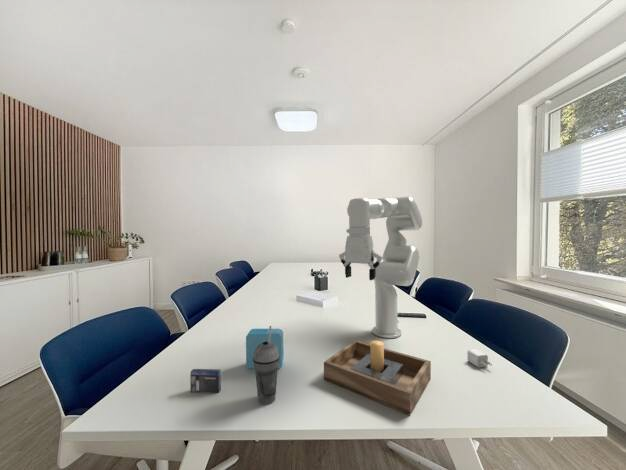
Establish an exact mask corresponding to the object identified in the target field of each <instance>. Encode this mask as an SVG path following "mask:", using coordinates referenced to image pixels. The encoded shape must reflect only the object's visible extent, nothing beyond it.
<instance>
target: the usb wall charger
mask: <svg viewBox="0 0 626 470" xmlns="http://www.w3.org/2000/svg"><path fill="white" fill-rule="evenodd" d="M467 361H468V362H470V364H472V365H474V366H475V367H477V368H486V367H488V366H491V367H492V366H493V365H492V364H493V363H492V362H489V357H488V354H485V353H484V352H482V351H480V350H478V349H477V348H474V349H473V348H472V349H468V350H467Z"/></svg>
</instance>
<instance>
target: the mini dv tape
mask: <svg viewBox="0 0 626 470" xmlns="http://www.w3.org/2000/svg"><path fill="white" fill-rule="evenodd" d="M221 371H222V370H221V368H220V369H217V368H216V369H215V368H212V369H211V368H208V369H206V368H204V369H203V368H192V369H191V370H190V373H189V374H190V375H189V376H190V380H189V381H190V384H189V385H190V393H198V394H201V393H202V394H204V393H205V394H219V393H220V392H221V390H222V384H221V383H222V379H221V378H222V375H221V374H222V373H221Z"/></svg>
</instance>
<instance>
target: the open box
mask: <svg viewBox="0 0 626 470" xmlns="http://www.w3.org/2000/svg"><path fill="white" fill-rule="evenodd" d="M367 354H370V343H367V342H363V341H359V340H356V339H355V340H353V341H352V342H350V343H349V344H348V345H346V346H345V347H343V348H342V349H340V350H338V351H337V352H336V353H335V354H333V355H332V356H330V357H329V358H327V359H326V360H325V361H323V380H324V381H326V382H329V383H331V384H334V385H335V386H338V387H339V388H343V389H345V390H347V391H350V392H352V393H355V394H357V395H360V396H362V397H363V398H366V399H369V400H372V401H375V402H376V403H379V404H382V405H383V406H387V407H389V408H391V409H393V410H396V411H398V412H401V413H403V414H406V415H407V414H409V415H408V416H411V415H412V413H413V411H414V410H415V408H416V406H417V404H418V402H419V401H420V399H421V397H422V395H423V393H424V392H425V390H426V388H427V386H428V385H429V383H430V381H431V378H432V377H431V371H432V364H431V361H430V360H428V359H424V358H421V357H416V356H415V355H409V354H405V353H402V352H398V351H395V350H391V349H388V348H385V347H384V359H387V360H390V361H394V362H397V363H400V364H403V375H402V377H401V378H400V379H399V380H398V382H397V383H396V384H395V385H393V384H390V383H387V382H385V381H382V380H379V379H376V378H373V377H371V376H368V375H365V374H362V373H360V372H357V371H354V370H351V369H350V368H352V367H353V366H354V365H355V364H356V363H358V362H359V361H360V360H361V359H362V358H363V357H365V356H366V355H367ZM410 414H411V415H410Z"/></svg>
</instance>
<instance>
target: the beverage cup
mask: <svg viewBox="0 0 626 470" xmlns="http://www.w3.org/2000/svg"><path fill="white" fill-rule="evenodd" d="M268 329H269V336H268V341H266V342H262V343H261V344H259V345H258V346H257V348H256V349H255V351H254V356H253V361H254V367H255V369H254V370H255V372H254V373H255V381H256V382H255V383H256V390H257V393H256V394H257V397H258V403H259V404H260V405H263V406H268V405H271V404H273V403H274V402H275V400H276V395H277V385H278V372H279V369H278V364H279V358H280V355H279V351H278V348H277V346H276V345H275V344H274V343H272V342H270V336H271V329H272V325H270V326H269V328H268Z"/></svg>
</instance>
